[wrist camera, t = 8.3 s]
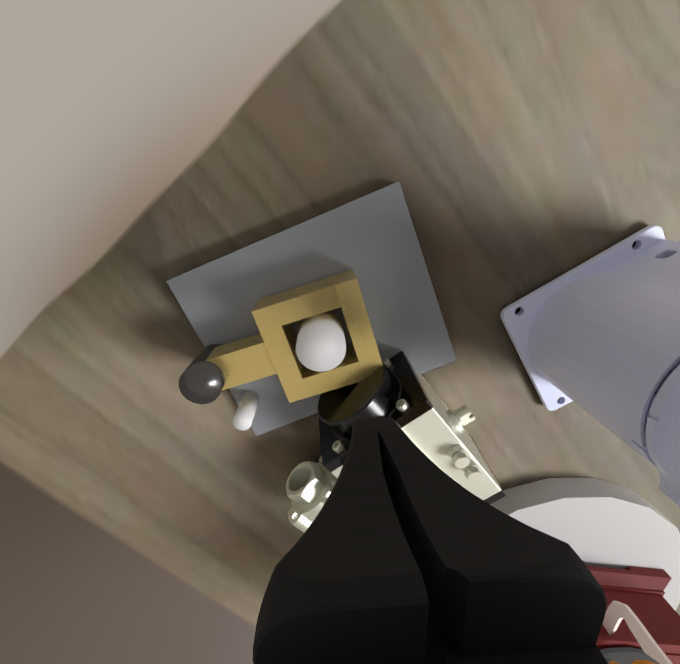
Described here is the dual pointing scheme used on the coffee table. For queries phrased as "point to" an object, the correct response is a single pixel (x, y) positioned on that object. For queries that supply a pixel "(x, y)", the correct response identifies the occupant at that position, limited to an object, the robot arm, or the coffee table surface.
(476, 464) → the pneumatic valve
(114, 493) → the coffee table surface
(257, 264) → the plate
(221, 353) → the square nut with handle
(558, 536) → the gramophone
